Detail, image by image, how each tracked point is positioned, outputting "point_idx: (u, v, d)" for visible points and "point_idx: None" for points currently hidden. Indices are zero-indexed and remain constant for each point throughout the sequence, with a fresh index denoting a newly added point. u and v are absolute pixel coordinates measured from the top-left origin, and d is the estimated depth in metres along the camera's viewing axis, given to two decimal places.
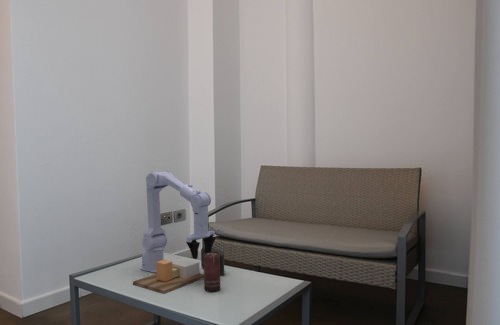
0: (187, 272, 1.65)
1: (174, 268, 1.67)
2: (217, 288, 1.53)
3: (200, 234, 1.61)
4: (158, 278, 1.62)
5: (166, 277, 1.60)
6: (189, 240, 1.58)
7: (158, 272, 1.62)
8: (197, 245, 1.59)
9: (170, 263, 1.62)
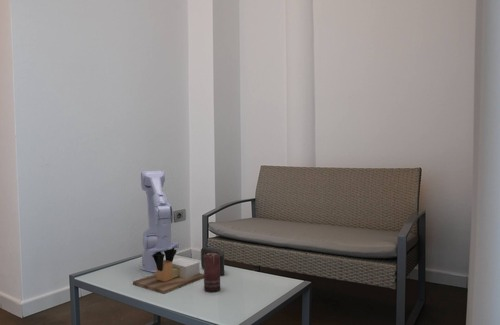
0: (187, 272, 1.65)
1: (174, 268, 1.67)
2: (217, 288, 1.53)
3: (162, 247, 1.60)
4: (158, 278, 1.62)
5: (166, 277, 1.60)
6: (150, 253, 1.56)
7: (158, 272, 1.62)
8: (162, 257, 1.59)
9: (170, 263, 1.62)
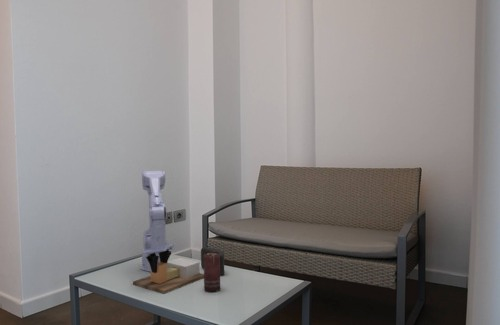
0: (187, 272, 1.65)
1: (169, 270, 1.65)
2: (217, 288, 1.53)
3: (156, 248, 1.57)
4: (153, 280, 1.60)
5: (160, 279, 1.58)
6: (144, 255, 1.54)
7: (152, 274, 1.60)
8: (156, 259, 1.56)
9: (164, 265, 1.60)
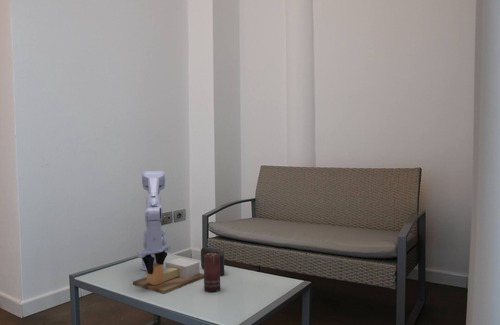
0: (187, 272, 1.65)
1: (165, 271, 1.63)
2: (217, 288, 1.53)
3: (152, 249, 1.56)
4: (148, 281, 1.58)
5: (156, 280, 1.56)
6: (140, 256, 1.52)
7: (148, 276, 1.58)
8: (152, 260, 1.55)
9: (160, 266, 1.58)
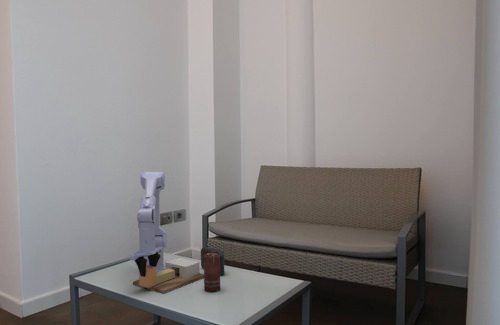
0: (187, 272, 1.65)
1: (158, 273, 1.60)
2: (217, 288, 1.53)
3: (145, 251, 1.53)
4: (141, 284, 1.55)
5: (149, 283, 1.54)
6: (132, 258, 1.50)
7: (141, 278, 1.55)
8: (144, 262, 1.52)
9: (153, 268, 1.55)
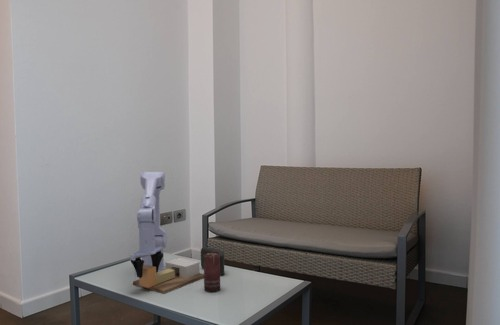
0: (187, 272, 1.65)
1: (158, 273, 1.60)
2: (217, 288, 1.53)
3: (145, 251, 1.53)
4: (141, 284, 1.55)
5: (149, 283, 1.54)
6: (132, 258, 1.50)
7: (141, 278, 1.55)
8: (141, 263, 1.51)
9: (153, 268, 1.55)
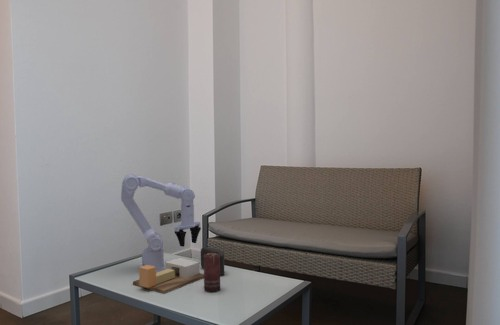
0: (187, 272, 1.65)
1: (158, 273, 1.60)
2: (217, 288, 1.53)
3: (186, 224, 1.82)
4: (141, 284, 1.55)
5: (149, 283, 1.54)
6: (176, 229, 1.79)
7: (141, 278, 1.55)
8: (184, 234, 1.80)
9: (153, 268, 1.55)
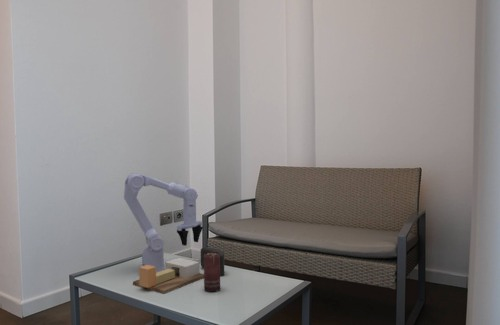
0: (187, 272, 1.65)
1: (158, 273, 1.60)
2: (217, 288, 1.53)
3: (189, 224, 1.84)
4: (141, 284, 1.55)
5: (149, 283, 1.54)
6: (179, 229, 1.81)
7: (141, 278, 1.55)
8: (186, 233, 1.82)
9: (153, 268, 1.55)
